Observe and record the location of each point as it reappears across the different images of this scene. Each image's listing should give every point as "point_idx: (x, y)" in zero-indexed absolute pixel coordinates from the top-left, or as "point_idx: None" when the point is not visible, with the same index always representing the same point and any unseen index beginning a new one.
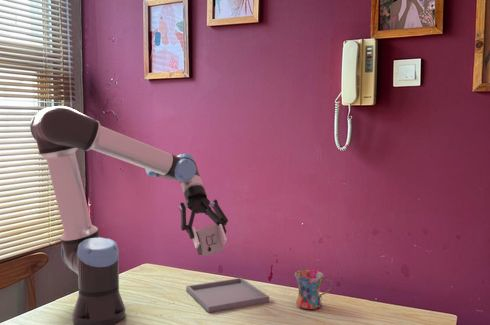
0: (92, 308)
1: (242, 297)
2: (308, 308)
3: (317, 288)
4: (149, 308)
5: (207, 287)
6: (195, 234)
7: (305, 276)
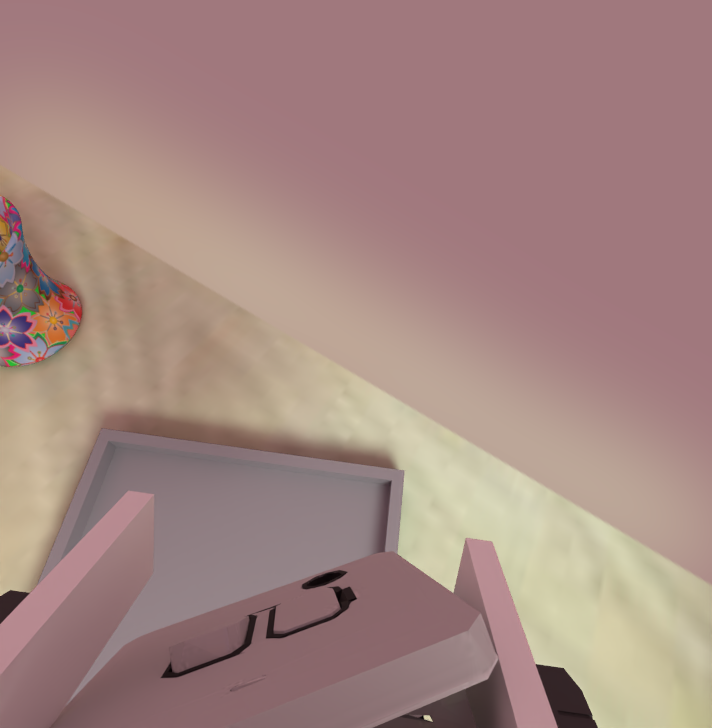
0: None
1: (173, 538)
2: (73, 291)
3: None
4: (642, 708)
5: None
6: (516, 646)
7: None
